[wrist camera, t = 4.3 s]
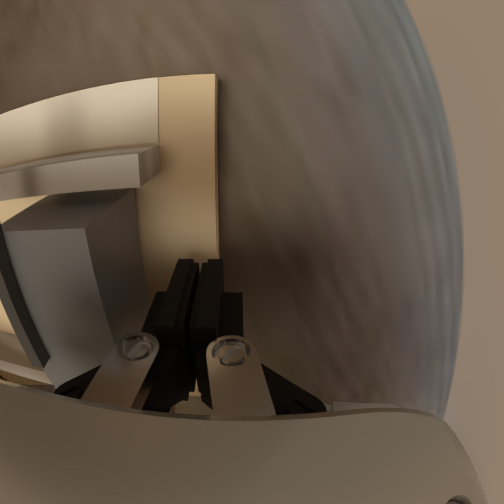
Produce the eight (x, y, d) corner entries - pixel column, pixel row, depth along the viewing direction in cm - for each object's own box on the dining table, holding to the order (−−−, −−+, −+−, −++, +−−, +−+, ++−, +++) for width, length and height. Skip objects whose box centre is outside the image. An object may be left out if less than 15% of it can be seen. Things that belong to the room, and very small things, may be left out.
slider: (160, 351, 14) (141, 428, 10) (90, 344, 14) (58, 411, 9) (129, 80, 8) (59, 65, 4) (41, 100, 8) (-42, 109, 4)
